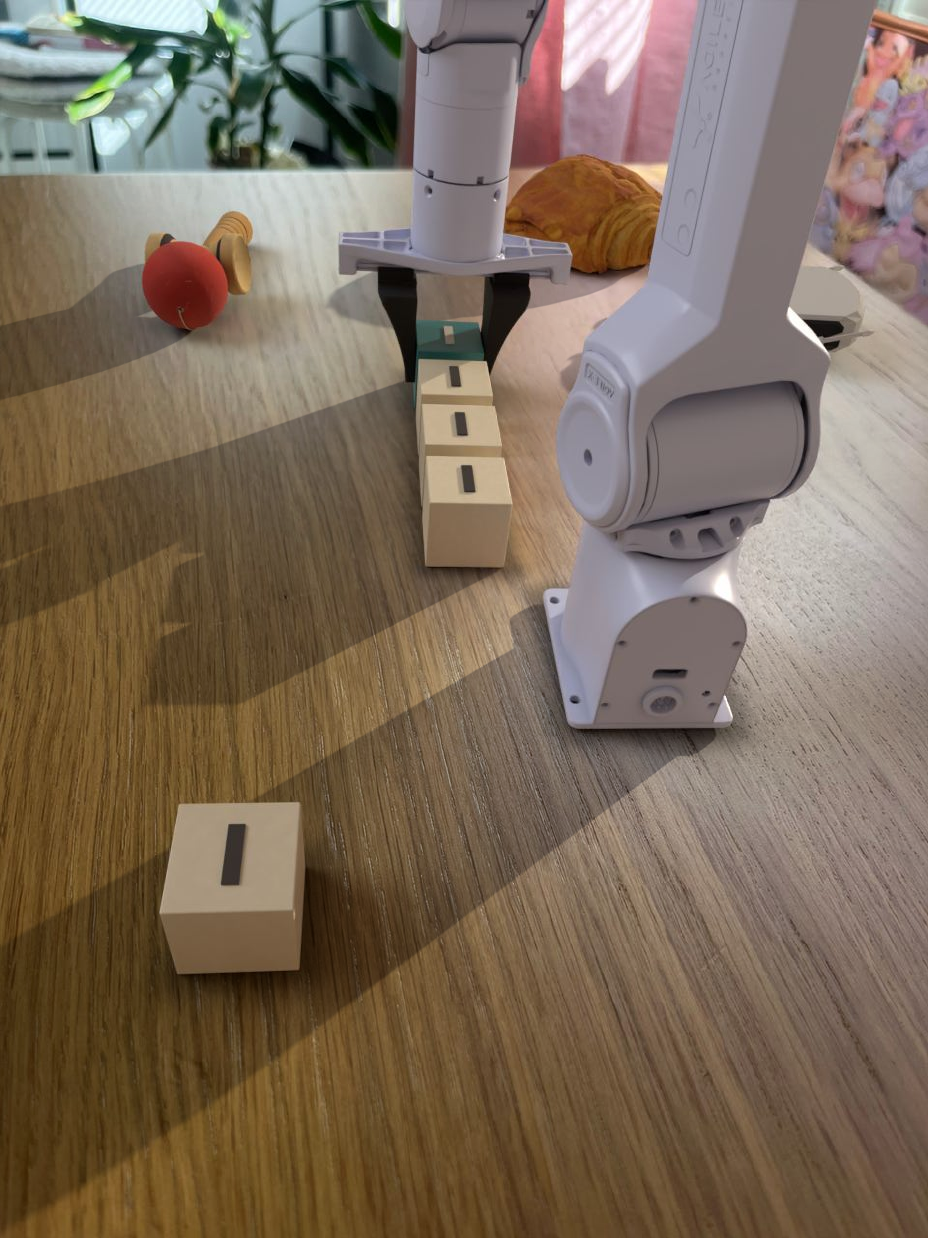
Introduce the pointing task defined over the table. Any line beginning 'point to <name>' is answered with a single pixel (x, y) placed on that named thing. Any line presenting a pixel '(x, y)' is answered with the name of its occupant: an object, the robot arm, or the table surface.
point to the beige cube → (465, 511)
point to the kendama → (197, 272)
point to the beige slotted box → (235, 888)
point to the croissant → (588, 212)
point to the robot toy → (829, 306)
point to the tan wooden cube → (457, 433)
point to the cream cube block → (451, 385)
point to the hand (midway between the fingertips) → (446, 376)
